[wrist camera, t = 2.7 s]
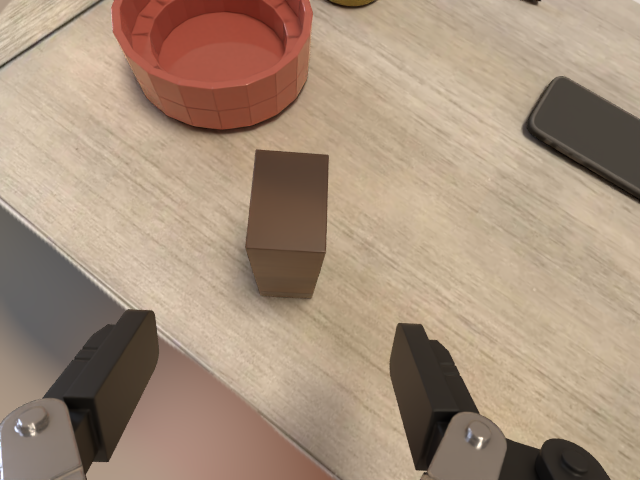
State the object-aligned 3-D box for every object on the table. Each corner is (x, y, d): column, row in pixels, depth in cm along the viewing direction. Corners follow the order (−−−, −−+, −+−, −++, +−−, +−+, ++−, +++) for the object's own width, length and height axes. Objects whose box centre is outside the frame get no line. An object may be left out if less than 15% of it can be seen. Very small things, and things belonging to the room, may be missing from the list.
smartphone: (696, 226, 29) (526, 125, 31) (684, 230, 30) (519, 131, 32) (717, 160, 32) (558, 70, 34) (705, 166, 33) (551, 77, 34)
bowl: (181, 161, 29) (161, 119, 24) (111, 34, 32) (81, -25, 28) (339, 93, 32) (348, 44, 27) (259, -15, 36) (255, -75, 31)
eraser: (311, 298, 26) (325, 253, 16) (260, 296, 26) (245, 248, 16) (314, 230, 28) (328, 154, 18) (266, 227, 27) (255, 148, 18)
